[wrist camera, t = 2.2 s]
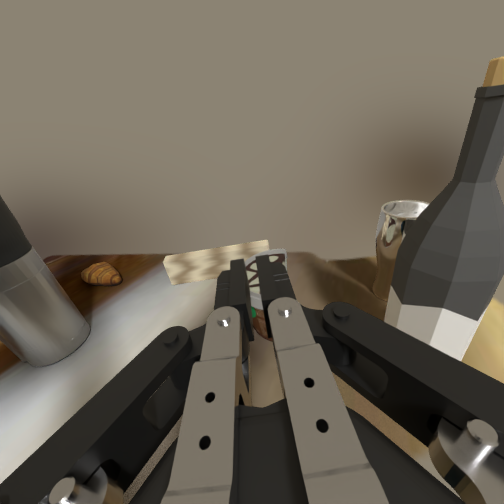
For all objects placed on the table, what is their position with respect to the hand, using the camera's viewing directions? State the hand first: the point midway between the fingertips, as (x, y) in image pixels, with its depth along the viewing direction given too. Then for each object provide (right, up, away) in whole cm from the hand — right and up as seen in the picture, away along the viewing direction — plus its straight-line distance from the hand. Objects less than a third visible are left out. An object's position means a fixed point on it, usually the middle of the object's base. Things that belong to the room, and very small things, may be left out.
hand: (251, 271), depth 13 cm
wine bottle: (+21, -13, +17) cm, 29 cm away
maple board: (-7, -4, +39) cm, 40 cm away
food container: (+2, -10, +27) cm, 29 cm away
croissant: (-37, -6, +45) cm, 58 cm away
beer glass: (+24, -6, +27) cm, 37 cm away
